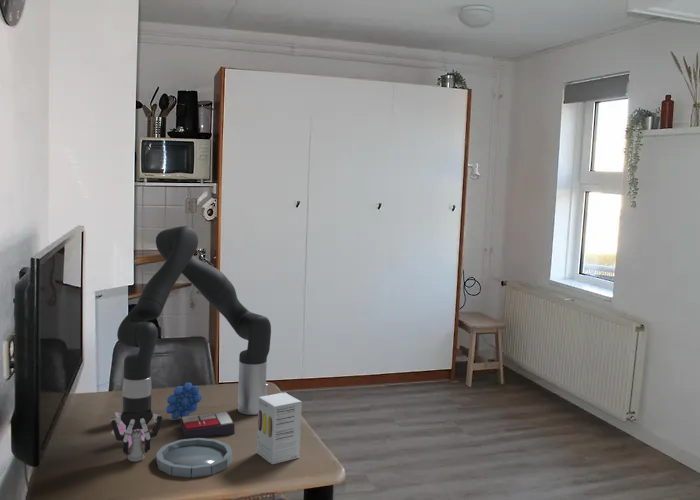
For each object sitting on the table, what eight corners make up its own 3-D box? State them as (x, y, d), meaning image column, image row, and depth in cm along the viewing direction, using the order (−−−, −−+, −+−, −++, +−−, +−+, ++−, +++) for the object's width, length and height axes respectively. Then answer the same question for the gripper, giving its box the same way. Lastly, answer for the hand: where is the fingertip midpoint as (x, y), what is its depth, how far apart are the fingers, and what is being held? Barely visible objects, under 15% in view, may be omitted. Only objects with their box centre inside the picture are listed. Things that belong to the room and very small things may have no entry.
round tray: (223, 443, 198) (223, 435, 198) (238, 471, 180) (239, 462, 180) (153, 451, 190) (153, 442, 190) (162, 481, 172) (162, 472, 172)
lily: (103, 453, 190) (116, 428, 187) (102, 424, 200) (114, 400, 197) (144, 458, 196) (157, 434, 193) (141, 430, 206) (153, 407, 203)
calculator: (179, 415, 210) (227, 409, 215) (180, 429, 210) (227, 422, 216) (184, 428, 200) (234, 421, 205) (185, 442, 200) (235, 434, 206)
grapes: (197, 412, 223) (198, 377, 222) (203, 418, 217) (204, 383, 216) (162, 417, 217) (162, 381, 216) (167, 424, 211) (168, 387, 210)
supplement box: (255, 453, 192) (257, 396, 191) (282, 446, 198) (284, 391, 196) (272, 465, 185) (274, 406, 183) (300, 458, 190) (302, 400, 189)
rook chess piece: (129, 455, 187) (130, 427, 186) (146, 455, 187) (146, 428, 186) (125, 462, 182) (126, 434, 182) (142, 462, 183) (143, 434, 182)
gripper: (162, 386, 189) (161, 444, 191) (108, 390, 184) (108, 450, 185) (165, 394, 182) (164, 455, 184) (110, 399, 177) (109, 461, 178)
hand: (136, 452), depth 185 cm, fingers open, 4 cm apart
